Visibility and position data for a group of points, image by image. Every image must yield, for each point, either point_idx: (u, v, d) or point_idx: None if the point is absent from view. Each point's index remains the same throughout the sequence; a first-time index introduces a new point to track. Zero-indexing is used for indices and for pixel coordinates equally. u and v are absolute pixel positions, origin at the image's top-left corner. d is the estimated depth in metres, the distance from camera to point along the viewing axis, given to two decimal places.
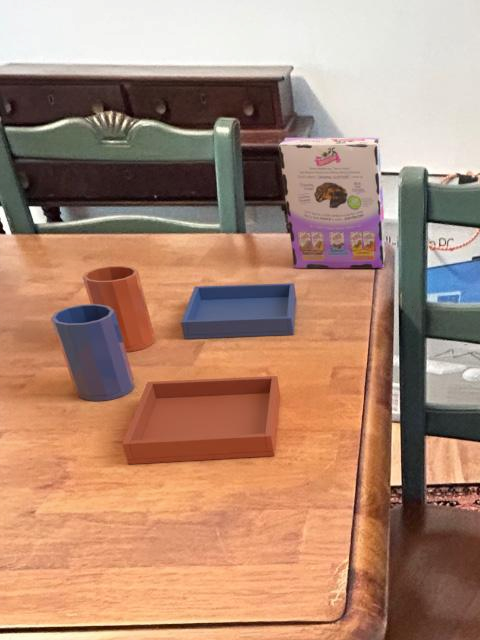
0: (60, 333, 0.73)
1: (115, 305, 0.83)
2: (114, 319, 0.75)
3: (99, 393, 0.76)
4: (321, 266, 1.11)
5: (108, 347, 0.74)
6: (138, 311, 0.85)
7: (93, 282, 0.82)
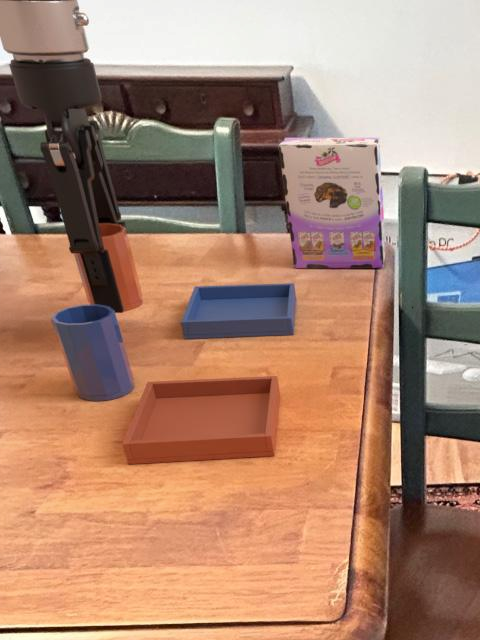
0: (60, 333, 0.73)
1: None
2: (114, 319, 0.75)
3: (99, 393, 0.76)
4: (321, 266, 1.11)
5: (108, 347, 0.74)
6: (126, 270, 0.82)
7: None
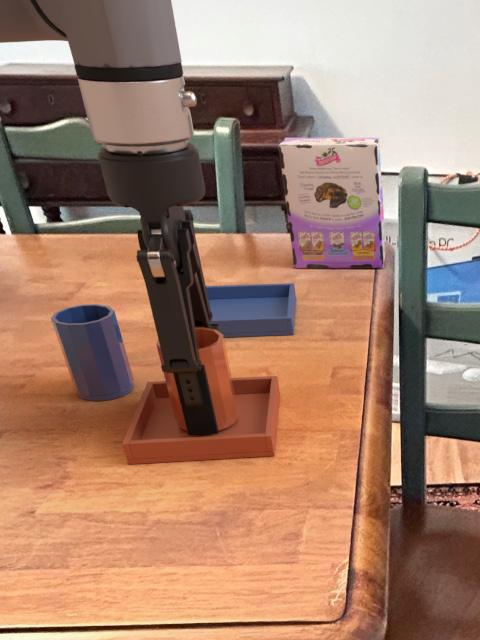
0: (60, 333, 0.73)
1: None
2: (114, 319, 0.75)
3: (99, 393, 0.76)
4: (321, 266, 1.11)
5: (108, 347, 0.74)
6: (223, 384, 0.69)
7: None
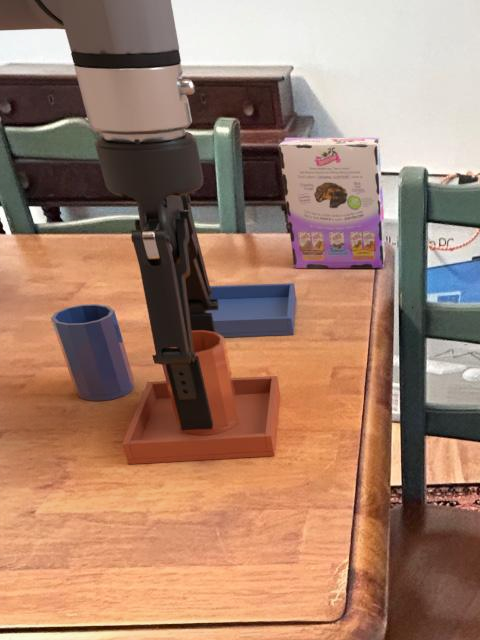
0: (60, 333, 0.73)
1: None
2: (114, 319, 0.75)
3: (99, 393, 0.76)
4: (321, 266, 1.11)
5: (108, 347, 0.74)
6: (224, 387, 0.69)
7: None
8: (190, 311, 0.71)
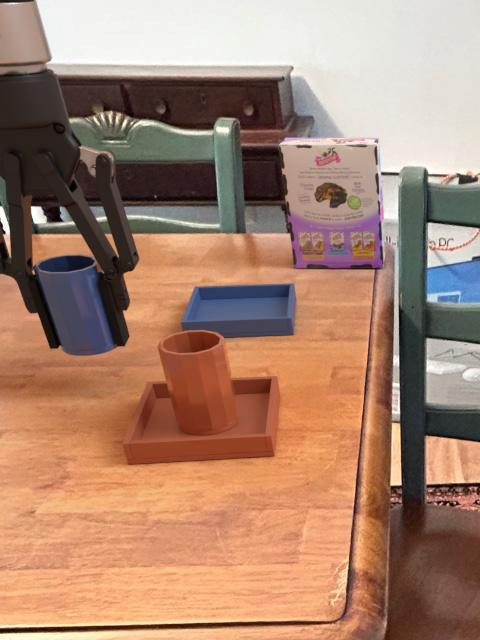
0: (42, 283, 0.70)
1: (198, 381, 0.67)
2: (99, 269, 0.72)
3: (84, 347, 0.74)
4: (321, 266, 1.11)
5: (93, 299, 0.71)
6: (224, 387, 0.69)
7: (172, 355, 0.65)
8: None
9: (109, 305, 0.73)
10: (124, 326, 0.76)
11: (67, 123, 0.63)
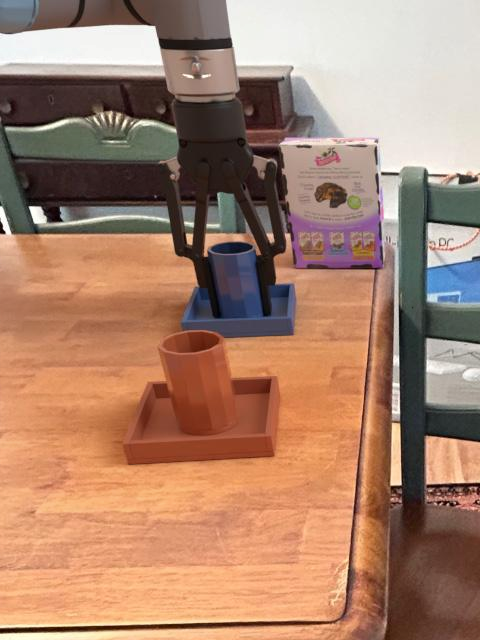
0: (215, 262, 0.89)
1: (198, 381, 0.67)
2: (256, 252, 0.91)
3: (241, 315, 0.92)
4: (321, 266, 1.11)
5: (252, 276, 0.90)
6: (224, 387, 0.69)
7: (172, 355, 0.65)
8: None
9: (263, 281, 0.92)
10: (270, 299, 0.95)
11: (246, 138, 0.83)
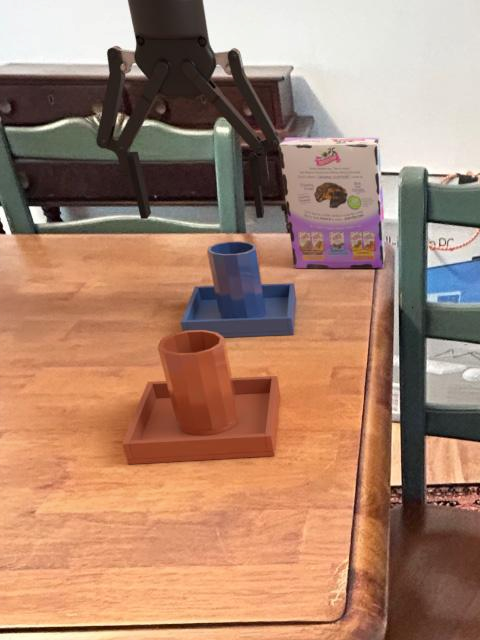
0: (215, 262, 0.89)
1: (198, 381, 0.67)
2: (256, 252, 0.91)
3: (241, 315, 0.92)
4: (321, 266, 1.11)
5: (252, 276, 0.90)
6: (224, 387, 0.69)
7: (172, 355, 0.65)
8: None
9: (255, 179, 0.87)
10: (262, 201, 0.90)
11: (207, 37, 0.79)
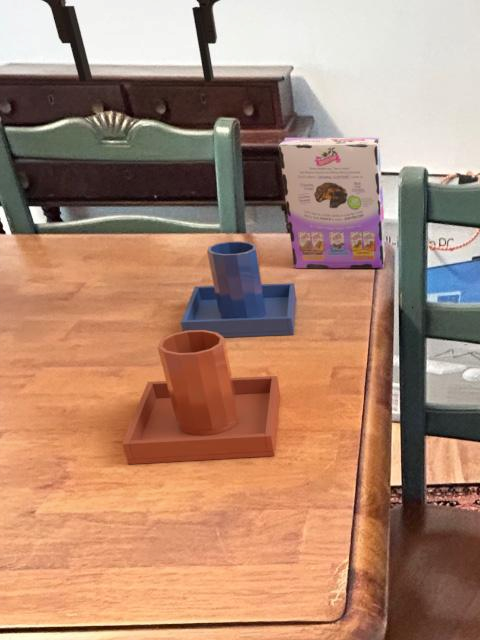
0: (215, 262, 0.89)
1: (198, 381, 0.67)
2: (256, 252, 0.91)
3: (241, 315, 0.92)
4: (321, 266, 1.11)
5: (252, 276, 0.90)
6: (224, 387, 0.69)
7: (172, 355, 0.65)
8: None
9: (200, 35, 0.81)
10: (210, 64, 0.84)
11: None
